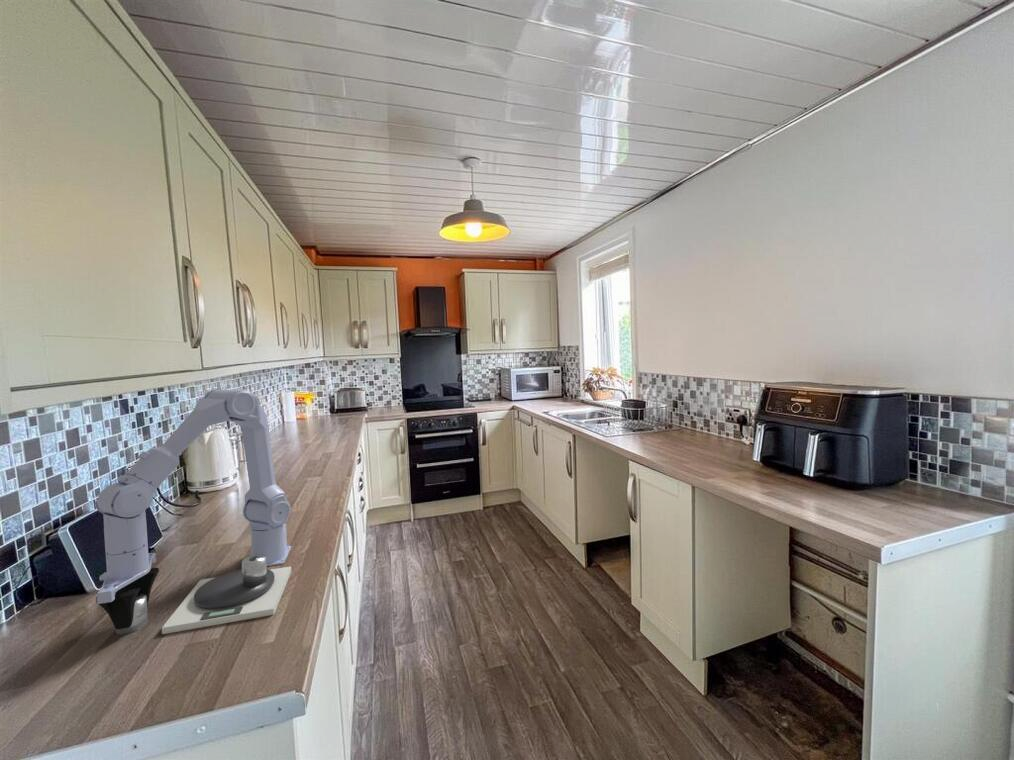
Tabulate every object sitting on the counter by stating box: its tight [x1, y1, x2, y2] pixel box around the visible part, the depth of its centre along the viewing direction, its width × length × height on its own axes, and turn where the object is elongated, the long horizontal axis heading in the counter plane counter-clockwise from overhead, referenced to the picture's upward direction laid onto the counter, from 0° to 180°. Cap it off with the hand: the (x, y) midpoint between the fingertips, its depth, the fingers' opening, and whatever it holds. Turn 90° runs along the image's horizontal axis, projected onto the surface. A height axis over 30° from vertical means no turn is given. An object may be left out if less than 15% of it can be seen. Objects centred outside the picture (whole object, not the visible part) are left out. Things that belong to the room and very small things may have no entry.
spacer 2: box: [241, 554, 268, 588], centre depth 87 cm, size 4×4×5 cm
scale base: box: [161, 566, 292, 635], centre depth 85 cm, size 17×18×2 cm
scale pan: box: [194, 568, 275, 609], centre depth 86 cm, size 14×14×1 cm
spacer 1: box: [115, 594, 149, 635], centre depth 77 cm, size 4×4×5 cm
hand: (131, 619), depth 77 cm, fingers open, 4 cm apart
